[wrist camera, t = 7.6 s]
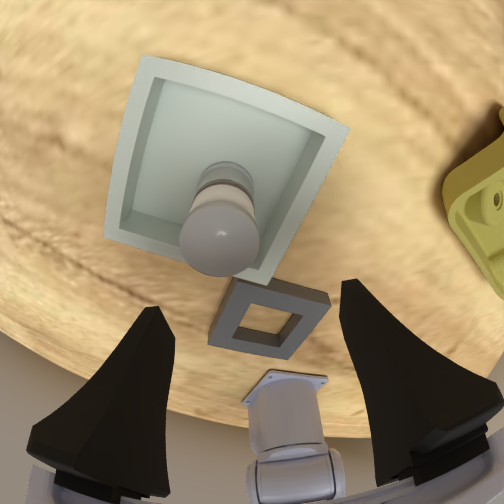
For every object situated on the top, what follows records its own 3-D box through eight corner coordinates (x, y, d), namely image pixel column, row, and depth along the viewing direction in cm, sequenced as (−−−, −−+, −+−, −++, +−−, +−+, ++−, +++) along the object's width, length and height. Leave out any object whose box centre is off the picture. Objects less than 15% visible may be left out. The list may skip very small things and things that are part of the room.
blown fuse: (241, 218, 19) (242, 284, 13) (191, 202, 18) (171, 264, 12) (261, 172, 17) (272, 224, 12) (208, 153, 16) (190, 198, 11)
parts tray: (263, 258, 21) (267, 285, 19) (119, 214, 19) (103, 237, 16) (333, 119, 15) (350, 128, 13) (159, 57, 13) (142, 54, 10)
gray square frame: (285, 348, 28) (287, 360, 26) (208, 331, 26) (207, 344, 25) (327, 293, 24) (331, 305, 22) (237, 268, 22) (237, 281, 20)
